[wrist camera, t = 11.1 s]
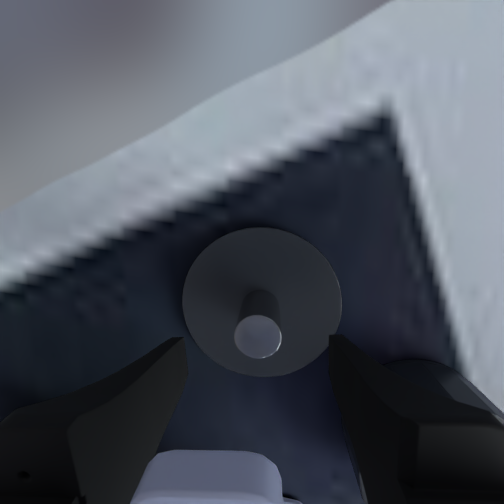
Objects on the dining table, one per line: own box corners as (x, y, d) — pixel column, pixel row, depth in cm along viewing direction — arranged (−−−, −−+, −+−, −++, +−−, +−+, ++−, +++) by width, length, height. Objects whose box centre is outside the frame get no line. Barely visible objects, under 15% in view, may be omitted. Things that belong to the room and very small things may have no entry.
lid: (192, 366, 21) (168, 419, 16) (180, 226, 19) (148, 239, 14) (335, 369, 20) (355, 426, 15) (341, 224, 18) (368, 235, 13)
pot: (327, 455, 22) (341, 522, 18) (361, 346, 20) (387, 391, 15) (451, 482, 22) (498, 557, 17) (500, 375, 20) (568, 429, 15)
